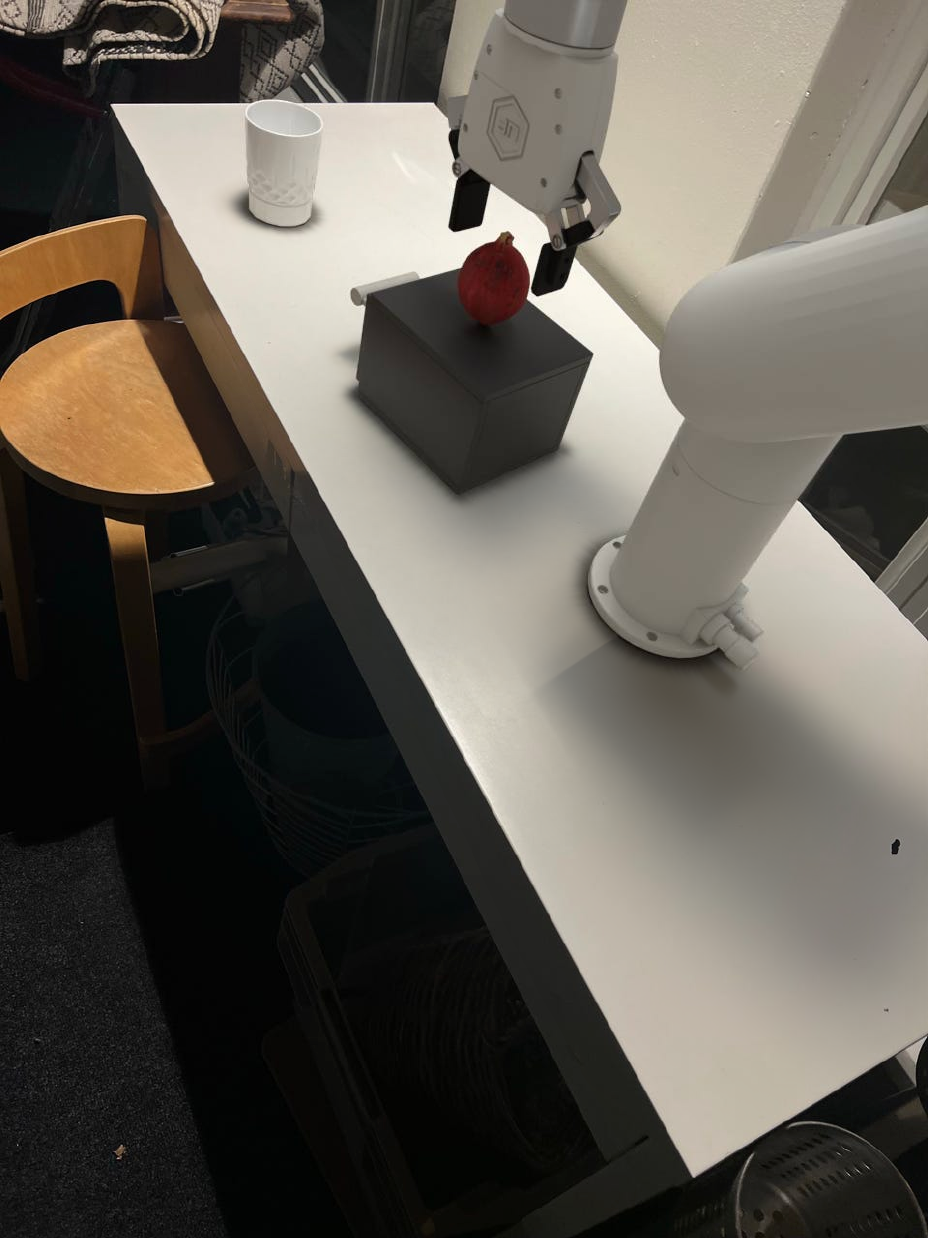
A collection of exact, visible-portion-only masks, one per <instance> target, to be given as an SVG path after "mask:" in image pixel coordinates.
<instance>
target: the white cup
mask: <svg viewBox="0 0 928 1238" xmlns="http://www.w3.org/2000/svg"><path fill="white" fill-rule="evenodd" d="M244 129H245V130H244V131H245V159H246V160H245V161H246V176H247V177H246V181H247V185H248V188H247V189H248V209H249V211H250V212H251V214H253V216H254V217H255V218H256V219H258V220H260V221H262V222H264V223H266V224H270V225H273V226H278V227H296V226H300V225H303V224H305V223H306V222H308V220H310V219H311V216H312V209H313V200H314V193H315V191H316V184H317V179H318V171H319V163H320V157H321V155H320V154H321V147H322V140H323V132H324V121H323V119H322V117H321V116H320V115H319V114H318V113H317V112H315V111H314V110H312V108H309V107H306V106H305V105H302V104H300V103H297V102H293V101H288V100H282V99H262V100H261V99H260V100H256V101H254V102H252V103H251V102H250V103H249V104H248V105H247V106H246V107H245V109H244Z"/></svg>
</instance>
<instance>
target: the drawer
mask: <svg viewBox="0 0 928 1238" xmlns="http://www.w3.org/2000/svg"><path fill="white" fill-rule="evenodd" d="M458 269H461V267H458V268H455V269H452V270H448V271H443V272H441V273H436V274H433V275H430V276H426V277H423V278H421V277H420V275H419V274H418V272H416V271H411V272H405V273H403V274H399V275H396V276H392V277H388V278H385V279H380V280H377V281H374V282H370V283H366V284H362V285H358V286H356V287H352V288H351V289H350V292H349V295H350V300H351V302H352V303H353V305H354V306H355V307H359V306H364V314H363V322H362V329H361V336H360V342H359V343H360V344H359V351H358V359H357V366H356V374H355V379H356V380H357V381H358V382H359V378H360V371H361V363H362V356H363V349H364V342H365V334H366V327H367V320H368V313H369V305H370V299H371V294H372V293H375V292H379V291H382V290H386V289H389V288H393V287H397V286H400V285H404V284H408V283H411V282H415V281H418V280H422V279H426V278H429V277H433V276H436V275H440V274H444V273H447V272H451V271H454V270H458Z"/></svg>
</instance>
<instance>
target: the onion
mask: <svg viewBox="0 0 928 1238" xmlns="http://www.w3.org/2000/svg"><path fill="white" fill-rule="evenodd" d="M513 241H515V236H514V235H513V233H511V232H510V231H509V230H507V231H503V232H502V231H501V232H500V234H499V236H498V237H497V238H496V240H494V241H489V242H485V243H484V244H481V245H480V246H478V247H476V248H475V249H474V250H472V251H471V252H470V253H469V254H468V255H467V256H466V258H465V260H464V261H463V263H462V265H461V267H460V268H461V270H460V273H459V276H458V284H457V289H458V294H459V298H460V301H461V304H462V305H463V307H464V308H465V310H466V311H467V313H468V314H469V315H470V316H471V317H472V318H473V319H474V320H476V321H477V322H479V323H480V324H482V325H491V324H497V323H500V322H503V321H505V320H508V319H510V318H511V317H512V316H513V315H515V314H516V313H517V312H518V311H519V310H521V309H522V307H523V305H524V304H525V302H526V300H528V295H529V291H530V288H531V275H530V270H529V267H528V264H527V262H526V260H525V258H524V256H523V254H522V253H521V251H519V250H518V249H517V247H516V246H514V242H513Z"/></svg>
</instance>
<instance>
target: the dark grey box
mask: <svg viewBox="0 0 928 1238" xmlns="http://www.w3.org/2000/svg"><path fill="white" fill-rule="evenodd" d="M457 269H458V268H457ZM453 270H454V271H451V270H450V271H451V272H448V271H446V272H447V273H444V272H443V273H444V274H440V273H439V274H440V275H437V274H435V275H436V276H433V275H432V276H433V277H429V276H428V277H429V278H426V277H425V278H426V279H422V278H421V279H422V280H418V281H415V282H411V283H408V284H404V285H400V286H397V287H393V288H389V289H386V290H382V291H379V292H375V293H372V294H371V299H370V305H369V313H368V320H367V327H366V334H365V342H364V349H363V356H362V363H361V371H360V378H359V381H358V386H357V395H356V396H357V397H358V399H360V400H361V401H362V402H363V403H364V405H366V406H367V407H368V408H369V409H370V410H371V411H372V412H373V413H374V414H375V415H376V416H377V417H378V418H379V419H380V420H381V421H382V422H383V423H384V424H385V425H386V426H387V427H388V428H389V429H390V430H392V432H394V433H395V434H396V435H397V436H398V437H399V438H400V440H402V441H403V443H405V444H406V445H407V446H408V447H409V448H410V449H411V450H412V451H413V452H414V453H415V454H416V455H417V456H418V457H419V458H420V459H421V460H422V461H423V462H424V463H425V464H426V465H427V466H428V467H429V468H430V469H431V470H432V471H433V472H434V473H435V474H436V475H437V476H439V478H441V479H442V480H443V482H444V483H446V485H448V487H449V488H451V489H452V490H453V492H455V493H456V494H457V495H459V494H462V493H463V492H466V491H468V490H471V489H473V488H475V487H478V486H479V485H482V484H484V483H486V482H488V481H490V480H493V479H495V478H497V477H500V476H501V475H504V474H506V473H508V472H510V471H513V470H515V469H517V468H520V467H521V466H523V465H526V464H529V463H531V462H533V461H535V460H537V459H539V458H541V457H544V456H545V455H548V454H550V453H552V452H554V451H557V450H559V449H560V446H561V443H562V441H563V438H564V436H565V432H566V430H567V427H568V425H569V422H570V419H571V417H572V413H573V411H574V408H575V405H576V402H577V400H578V398H579V396H580V392H581V390H582V387H583V385H584V381H585V379H586V376H587V373H588V371H589V368H590V365H591V362H592V360H593V357H594V352H593V351H591V350H590V349H589V348H587V347H586V346H585V345H584V344H583V343H582V342H580V341H579V340H578V339H577V338H576V337H574V336H573V335H572V334H571V333H569V332H568V331H567V330H566V329H565V328H563V327H562V326H561V325H559V324H558V323H557V322H556V321H554V320H553V319H552V318H551V317H550V316H548V314H546V313H545V312H544V311H542V310H541V309H540V308H538V307H537V306H536V305H535V304H534V303H533V302H531V301H530V300H529V299H527V300H526V302H525V304H524V305H523V307H522V309H521V310H519V311H518V312H517V313H516V314H515V315H513V316H512V317H511V318H510V319H508V320H505V321H503V322H500V323H497V324H491V325H482V324H480V323H479V322H477V321H476V320H474V319H473V318H472V317H471V316H470V315H469V314H468V313H467V311H466V310H465V308H464V307H463V305H462V304H461V301H460V298H459V294H458V289H457V284H458V276H459V273H460V270H461V269H458V270H455V269H453Z"/></svg>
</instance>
